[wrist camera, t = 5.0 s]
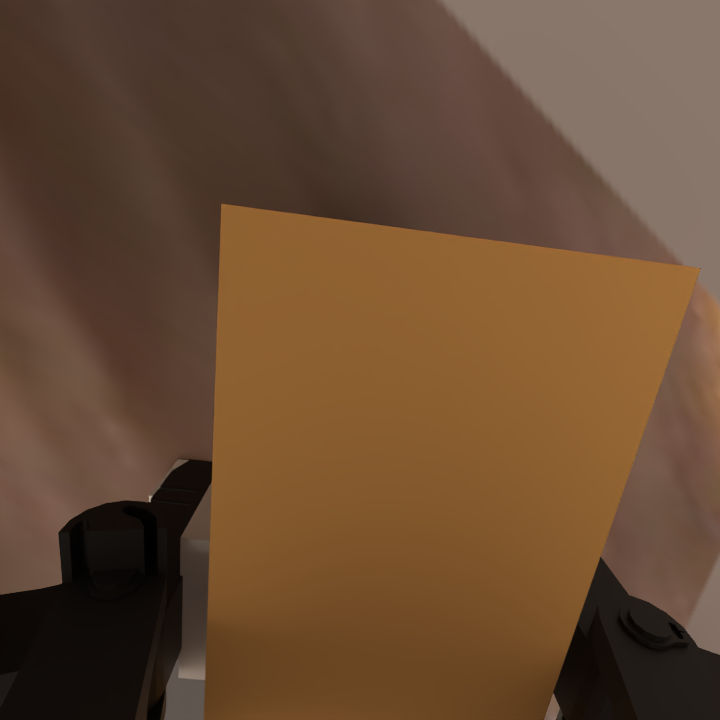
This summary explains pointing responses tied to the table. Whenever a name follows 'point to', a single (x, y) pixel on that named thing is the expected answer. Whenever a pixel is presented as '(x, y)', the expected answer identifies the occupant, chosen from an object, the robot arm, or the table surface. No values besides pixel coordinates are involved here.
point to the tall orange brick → (416, 463)
